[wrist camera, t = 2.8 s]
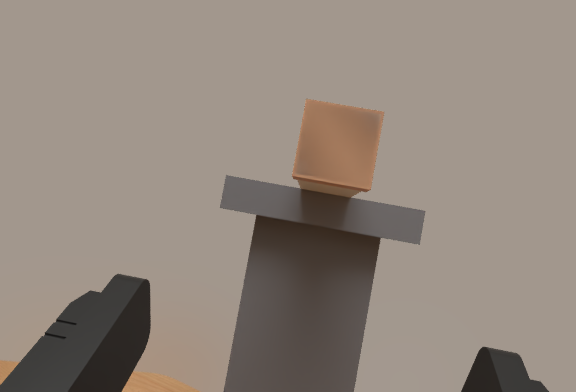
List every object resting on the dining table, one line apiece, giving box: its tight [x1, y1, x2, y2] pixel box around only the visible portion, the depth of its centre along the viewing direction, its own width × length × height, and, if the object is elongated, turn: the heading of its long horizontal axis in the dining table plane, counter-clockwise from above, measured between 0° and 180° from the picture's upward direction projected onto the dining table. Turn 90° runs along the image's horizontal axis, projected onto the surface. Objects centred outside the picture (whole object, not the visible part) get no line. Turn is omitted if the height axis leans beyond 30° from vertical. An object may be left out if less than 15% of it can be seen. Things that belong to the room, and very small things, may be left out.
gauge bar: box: [292, 99, 384, 198], centre depth 31 cm, size 24×3×3 cm, turn 177°
